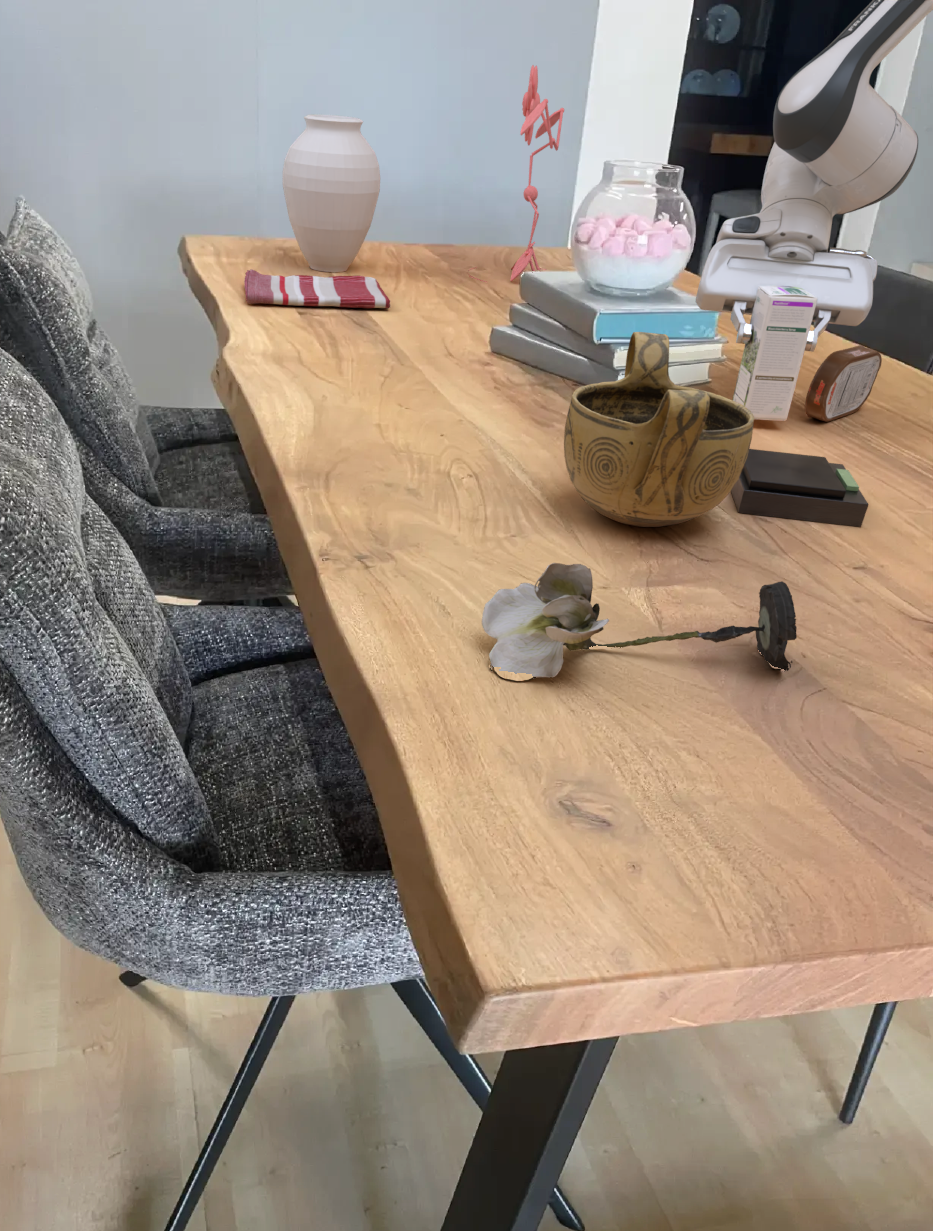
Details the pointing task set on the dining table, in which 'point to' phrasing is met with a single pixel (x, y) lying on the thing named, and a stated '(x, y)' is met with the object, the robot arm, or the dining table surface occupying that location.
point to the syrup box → (774, 351)
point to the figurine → (532, 113)
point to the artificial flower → (601, 622)
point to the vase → (331, 190)
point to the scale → (798, 489)
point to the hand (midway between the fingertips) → (775, 344)
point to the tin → (842, 383)
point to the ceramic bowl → (653, 442)
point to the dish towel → (315, 290)
